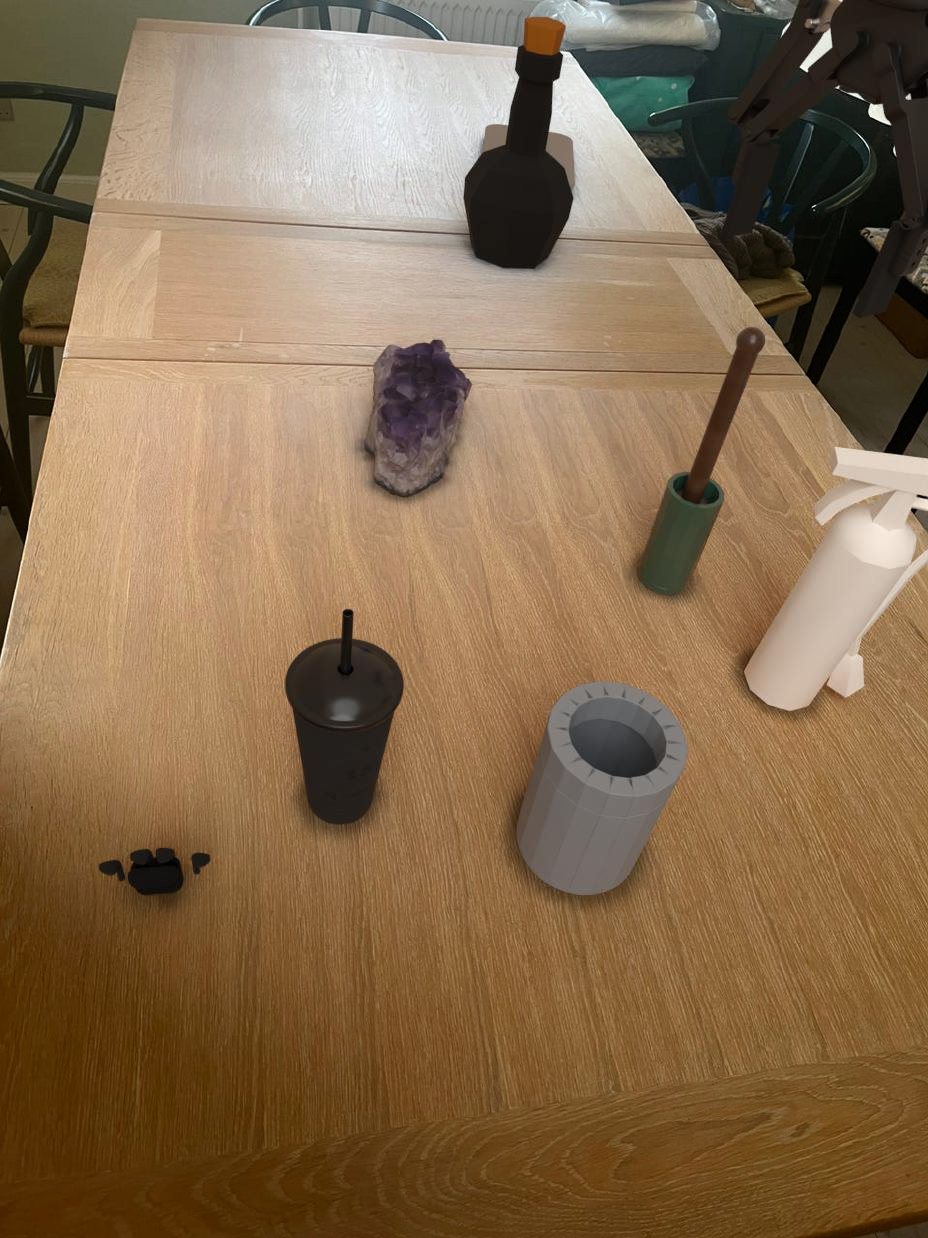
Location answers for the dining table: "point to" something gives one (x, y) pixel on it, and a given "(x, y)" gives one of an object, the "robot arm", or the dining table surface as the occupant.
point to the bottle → (522, 165)
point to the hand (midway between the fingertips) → (798, 271)
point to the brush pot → (678, 537)
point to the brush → (723, 413)
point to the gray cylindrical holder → (598, 786)
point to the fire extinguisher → (843, 580)
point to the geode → (414, 415)
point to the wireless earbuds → (154, 870)
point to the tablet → (556, 147)
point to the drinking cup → (342, 720)
